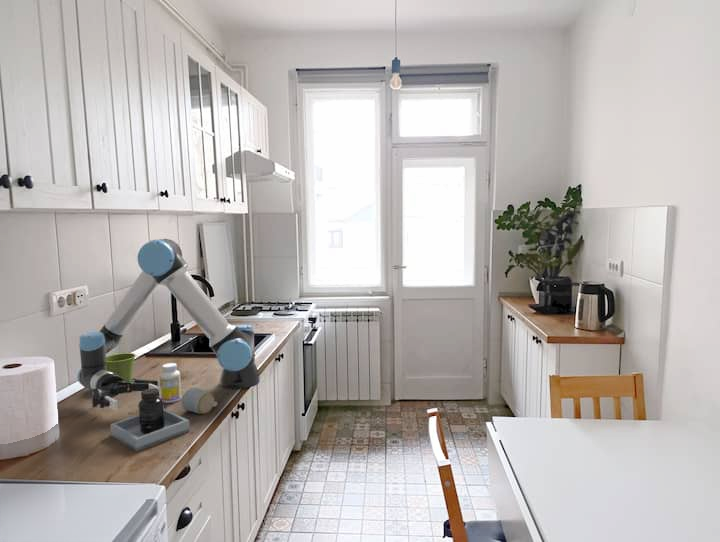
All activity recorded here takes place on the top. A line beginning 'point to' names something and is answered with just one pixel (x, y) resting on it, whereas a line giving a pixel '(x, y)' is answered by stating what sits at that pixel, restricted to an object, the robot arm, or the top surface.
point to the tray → (138, 441)
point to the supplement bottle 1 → (151, 411)
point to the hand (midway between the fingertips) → (139, 398)
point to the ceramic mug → (198, 401)
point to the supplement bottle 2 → (170, 383)
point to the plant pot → (121, 365)
